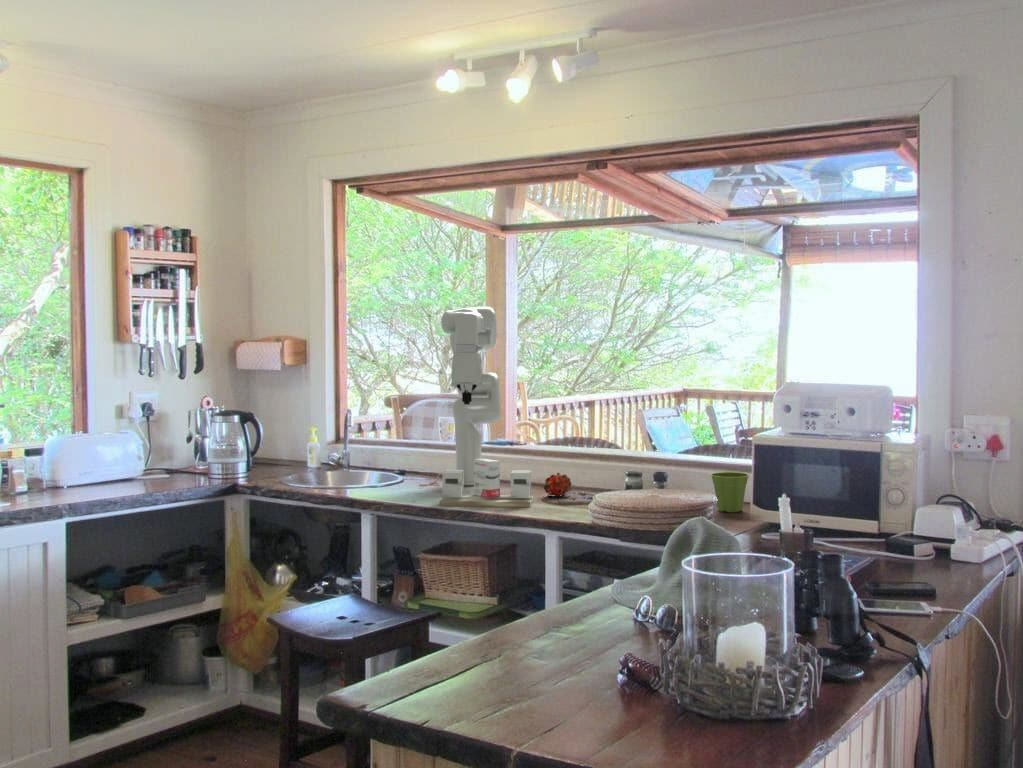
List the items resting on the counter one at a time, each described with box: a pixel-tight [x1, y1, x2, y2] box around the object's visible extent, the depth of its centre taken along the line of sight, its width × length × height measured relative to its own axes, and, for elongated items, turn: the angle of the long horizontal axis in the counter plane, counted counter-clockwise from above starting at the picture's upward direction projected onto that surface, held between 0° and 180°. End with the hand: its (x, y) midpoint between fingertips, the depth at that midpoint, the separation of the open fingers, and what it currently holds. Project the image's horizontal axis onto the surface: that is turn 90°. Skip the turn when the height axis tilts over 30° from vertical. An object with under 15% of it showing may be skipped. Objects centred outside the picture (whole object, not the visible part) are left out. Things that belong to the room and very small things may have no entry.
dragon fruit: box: [543, 472, 572, 497], centre depth 324 cm, size 8×8×12 cm
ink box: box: [473, 458, 501, 498], centre depth 312 cm, size 8×5×12 cm, turn 36°
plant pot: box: [709, 471, 751, 513], centre depth 295 cm, size 12×12×11 cm
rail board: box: [439, 469, 534, 508], centre depth 311 cm, size 12×29×10 cm, turn 85°
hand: (467, 404), depth 323 cm, fingers closed
